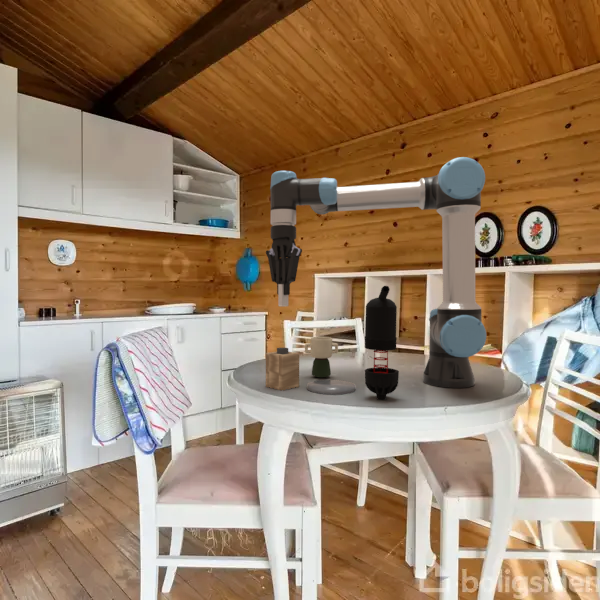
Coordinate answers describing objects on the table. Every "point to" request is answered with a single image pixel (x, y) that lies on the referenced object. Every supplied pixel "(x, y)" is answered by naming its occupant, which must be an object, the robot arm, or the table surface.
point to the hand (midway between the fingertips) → (283, 306)
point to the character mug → (321, 355)
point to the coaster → (331, 387)
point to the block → (282, 370)
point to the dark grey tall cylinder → (282, 350)
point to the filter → (381, 343)
